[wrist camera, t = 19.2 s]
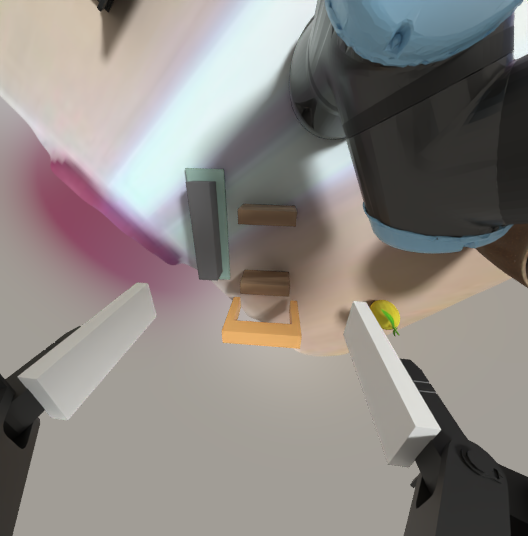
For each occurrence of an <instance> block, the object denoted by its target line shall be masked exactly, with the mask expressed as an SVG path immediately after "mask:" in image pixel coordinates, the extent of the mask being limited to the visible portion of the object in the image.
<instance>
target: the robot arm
mask: <svg viewBox="0 0 528 536" xmlns="http://www.w3.org/2000/svg"><path fill="white" fill-rule="evenodd" d="M522 2H523V0H318V1H317V6H316V11H315V15H314V16H313V17H312V19H311V20H310V21H309V22H308V24H307V25H306V27H305V29H304V30H303V32H302V34H301V36H300V38H299V40H298V43H297V45H296V48H295V51H294V54H293V58H292V63H291V69H290V78H289V91H290V99H291V103H292V107H293V110H294V112H295V114H296V116H297V118H298V120H299V121H300V123H301V124H302V125H303V126H304V127H305V128H306V129H307V130H308V131H309V132H310V133H312V134H314V135H316V136H318V137H321V138H324V139H340V138H344V137H346V141H347V145H348V148H349V152H350V155H351V159H352V162H353V166H354V169H355V173H356V176H357V180H358V183H359V187H360V190H361V194H362V197H363V201H364V202H363V209H364V212H365V214H366V215H367V216H368V218H369V221H370V223H371V226H372V229H373V232H374V233H375V235H376V236H377V237H378V238H379V239H380V240H381V241H382V242H384V243H386V244H387V245H389V246H392V247H394V248H397V249H400V250H404V251H410V252H417V253H451V252H459V251H461V250H462V249H463V247H469V248H478V247H481V246H484V245H487V244H490V243H492V242H494V241H496V240H497V239H499V238H501V237H502V236H504V235H505V234H506V233H507V232H508V230H509V229H510V228H511V227H512V226H513V224H528V54H527V55H525V56H523V57H521V58H519V59H516V60H515V59H514V51H513V50H514V11H515V9H516V8H517V6H519V5H520V4H521V3H522ZM156 317H157V315H156V311H155V307H154V304H153V300H152V296H151V293H150V289H149V285H148V283H136V284H135V285H133V286H132V287H131V288H130V289H128V290H127V291H126V292H124V293H123V294H122V295H121V296H119V297H118V298H117V299H115V301H113V302H112V303H110V304H109V305H108V306H107V307H105V308H104V309H103V310H101V311H100V312H99V313H98V314H96V315H95V316H94V317H93V318H91V319H90V320H89V321H87V322H86V323H85V324H84V325H83V326H79V327H77V328H75V329H73V330H71V331H69V332H67V333H66V334H64V335H63V336H62V337H60V338H59V339H58V340H57V341H55V343H53V344H51V345H50V346H49V347H47V348H46V350H43V351H42V352H41V353H40V354H38V355H37V356H36V357H34V358H33V359H32V360H30V361H29V362H28V363H26V364H25V365H24V366H22V367H21V368H20V369H19V370H17V371H16V372H15V373H13V374H12V375H11V376H9V377H8V378H7V379H4V378H3V377H2V376H1V374H0V536H12V535H13V531H14V527H15V523H16V519H17V515H18V511H19V506H20V502H21V498H22V494H23V490H24V486H25V482H26V478H27V474H28V470H29V466H30V462H31V458H32V454H33V450H34V446H35V442H36V438H37V434H38V429H39V426H40V419H39V418H38V416H39V415H40V414H41V413H42V412H43V411H44V410H45V411H46V412H47V413H48V415H49V416H50V417H51V418H55V419H63V420H68V419H69V418H70V417H71V416H72V415H73V414H74V413H75V411H76V410H77V409H78V408H79V407H80V405H81V404H82V403H83V402H84V401H85V400H86V398H87V397H88V396H89V395H90V394H91V393H92V391H93V390H94V389H95V388H96V387H97V385H98V384H99V383H100V382H101V381H102V380H103V378H104V377H105V376H106V375H107V374H108V373H109V371H110V370H111V369H112V368H113V367H114V366H115V365H116V363H117V362H118V361H119V360H120V359H121V358H122V356H123V355H124V354H125V353H126V352H127V351H128V349H129V348H130V347H131V346H132V345H133V344H134V342H135V341H136V340H137V339H138V338H139V336H140V335H141V334H142V333H143V332H144V331H145V329H146V328H147V327H148V326H149V324H151V322H152V321H153V320H154V319H155V318H156ZM343 335H344V338H345V341H346V343H347V346H348V349H349V352H350V355H351V358H352V361H353V364H354V367H355V370H356V372H357V376H358V379H359V381H360V384H361V387H362V390H363V393H364V396H365V399H366V402H367V405H368V408H369V410H370V414H371V416H372V419H373V422H374V425H375V428H376V431H377V434H378V437H379V440H380V443H381V445H382V449H383V452H384V454H385V457H386V460H387V463H388V465H395V466H402V467H410V466H411V465H412V463H413V462H414V461H416V463H417V466H418V468H419V470H420V474H419V475H418V476H417V477H416V478H415V479H414V480H413V481H412V483H411V484H410V485H411V486H412V487H413V488H414V487H415V486H416V487H415V492H414V495H413V500H412V504H411V508H410V512H409V516H408V521H407V525H406V529H405V533H404V536H528V477H526V476H524V475H522V474H520V473H517V472H515V471H513V470H511V469H508V468H506V467H504V466H502V465H500V464H498V463H497V462H496V461H495V460H494V459H493V458H492V457H491V456H490V455H489V454H488V453H487V452H486V451H484V450H483V449H482V448H481V447H480V446H478V445H477V444H475V443H473V442H471V441H469V440H468V439H467V438H466V436H465V435H464V434H463V432H462V431H461V429H460V428H459V426H458V425H457V423H456V422H455V420H454V419H453V417H452V416H451V414H450V413H449V411H448V410H447V408H446V407H445V405H444V404H443V402H442V400H441V399H440V398H439V396H438V395H437V394H436V392H435V390H434V388H433V387H432V385H431V384H429V381H428V379H427V378H426V376H425V375H424V373H423V372H422V370H421V369H420V368H418V367H417V366H416V365H415V364H414V363H413V362H412V361H411V360H408V359H399V357H398V356H397V354H396V352H395V351H394V349H393V347H392V345H391V344H390V342H389V340H388V338H387V337H386V335H385V333H384V332H383V330H382V328H381V327H380V325H379V323H378V321H377V320H376V318H375V316H374V315H373V313H372V311H371V310H370V308H369V306H368V305H367V303H366V302H358V301H353V303H352V307H351V310H350V314H349V317H348V320H347V324H346V327H345V330H344V334H343Z"/></svg>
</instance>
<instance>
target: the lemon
mask: <svg viewBox="0 0 528 536" xmlns="http://www.w3.org/2000/svg"><path fill="white" fill-rule="evenodd" d="M370 310H371V311H372V313H373V315H374V316H375V318H376V320H377V321H378V323H379V325H380V327H381V328H382V329H386V330H391V329H394V331H393V334H394V336H395V331H396V329H397V328H396V327H397V326H398V325H399V322H400V315H399V312H398V310H397V309H396V307H395V306H394V305H393V304H392V303H390V302H389V301H386V300H378V301H375V302H373V303H372V304H371V306H370ZM395 328H396V329H395ZM396 333H397V334H398V332H397V331H396ZM398 335H399V334H398Z"/></svg>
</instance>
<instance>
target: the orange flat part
mask: <svg viewBox="0 0 528 536" xmlns="http://www.w3.org/2000/svg"><path fill="white" fill-rule="evenodd" d="M240 308H241V301H240V297H234V298H233V301H232V304H231V306H230V309H229V312H228V315H227V318H226V321H225V323H224V326H223V329H222V339H223V343H234V344H247V345H260V346H273V347H286V348H299V349H300V343H301V329H300V321H299V313H298V305H297V301H290V309H289V314H290V324H280V323H266V322H251V321H237V319H238V316H239V312H240Z"/></svg>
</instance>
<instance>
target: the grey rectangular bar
mask: <svg viewBox="0 0 528 536" xmlns="http://www.w3.org/2000/svg"><path fill="white" fill-rule="evenodd" d="M186 188H187V195H188V202H189V209H190V216H191V224H192V231H193V238H194V245H195V253H196V260H197V267H198V274H199V279H202V280H217V281H218V279H219V277H220V276H221V274H222V272H223V269H222V256H221V243H220V230H219V217H218V204H217V191H216V181H189V182H186Z"/></svg>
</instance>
